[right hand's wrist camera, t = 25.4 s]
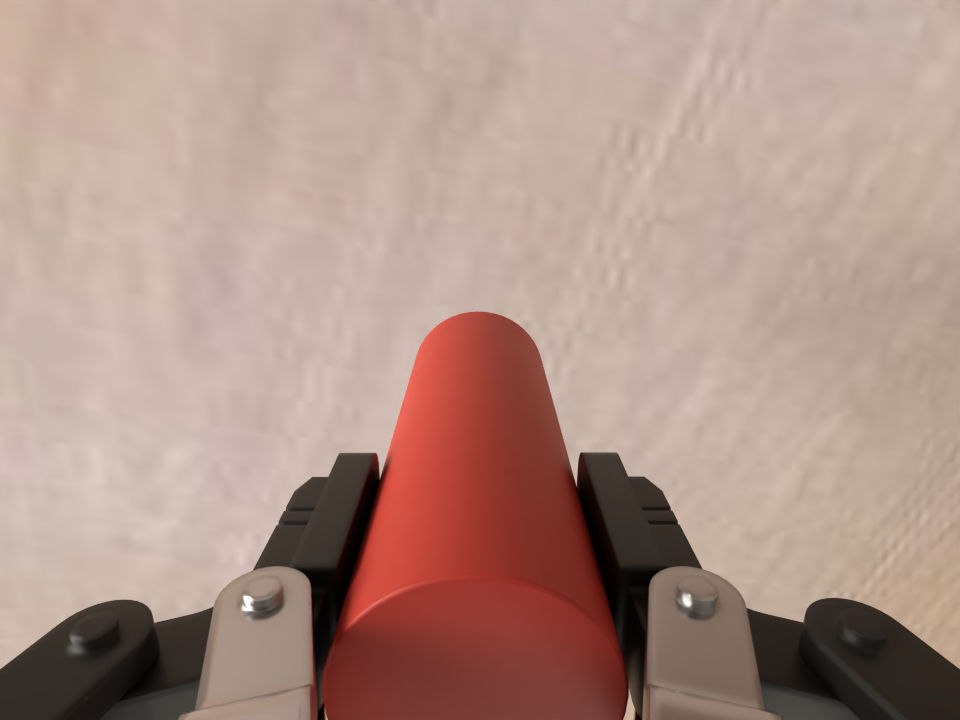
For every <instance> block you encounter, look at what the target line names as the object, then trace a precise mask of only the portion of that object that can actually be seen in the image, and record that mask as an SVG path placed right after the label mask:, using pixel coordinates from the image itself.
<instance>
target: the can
mask: <svg viewBox="0 0 960 720" xmlns="http://www.w3.org/2000/svg"><path fill="white" fill-rule="evenodd" d="M322 693H323V702H324V707H325V711H326V715H327V718H328V720H623V718H624V716H625V712H626V707H627V701H628V696H629V680H628V674H627V668H626V664H625V660H624V656H623V653H622V649H621V646H620V642H619V638H618V635H617V631H616V628H615V624H614V620H613V617H612V613H611V610H610V606H609V602H608V599H607V595H606V591H605V588H604V584H603V581H602V577H601V573H600V570H599V566H598V563H597V559H596V555H595V552H594V548H593V545H592V541H591V537H590V534H589V530H588V527H587V523H586V519H585V516H584V512H583V508H582V505H581V501H580V498H579V494H578V490H577V487H576V483H575V480H574V476H573V472H572V469H571V465H570V462H569V458H568V454H567V451H566V447H565V443H564V440H563V436H562V433H561V429H560V425H559V422H558V418H557V415H556V411H555V407H554V404H553V400H552V397H551V393H550V389H549V386H548V382H547V379H546V375H545V371H544V368H543V364H542V360H541V357H540V354H539V351H538V349H537V347H536V345H535V343H534V341H533V340H532V338H531V337H530V335H529V334H528V333H527V332H526V331H525V330H524V329H523V328H522V327H520V326H519V325H518V324H516V323H515V322H513V321H512V320H510V319H508V318H506V317H503V316H501V315H497V314H494V313H488V312H468V313H463V314H459V315H456V316H453V317H451V318H449V319H447V320H445V321H443V322H442V323H440V324H439V325H437V326H436V327H435V328H434V329H433V330H432V331H431V332H430V333H429V334H428V335H427V337H426V338H425V339H424V341H423V342H422V344H421V346H420V348H419V351H418V353H417V357H416V360H415V363H414V367H413V370H412V374H411V377H410V380H409V384H408V387H407V390H406V394H405V397H404V401H403V404H402V407H401V411H400V414H399V417H398V421H397V424H396V427H395V431H394V434H393V438H392V441H391V444H390V448H389V451H388V454H387V458H386V461H385V465H384V468H383V471H382V475H381V478H380V481H379V485H378V488H377V492H376V495H375V498H374V502H373V505H372V508H371V512H370V515H369V519H368V522H367V525H366V529H365V532H364V535H363V539H362V542H361V545H360V549H359V552H358V556H357V559H356V562H355V566H354V569H353V572H352V576H351V579H350V583H349V586H348V589H347V593H346V596H345V599H344V603H343V606H342V610H341V613H340V616H339V620H338V623H337V626H336V630H335V633H334V636H333V640H332V643H331V647H330V650H329V653H328V657H327V660H326V663H325V667H324V672H323V680H322Z"/></svg>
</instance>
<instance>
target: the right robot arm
mask: <svg viewBox="0 0 960 720" xmlns="http://www.w3.org/2000/svg"><path fill="white" fill-rule="evenodd" d="M379 481H380V476H379V462H378V456H377V454H376V453H340V454H339V455H338V457H337V459H336V462H335V464H334V466H333V468H332V470H331V473H330V475H329V477H312V478H311V479H310V480H308V481H307V482H306V483H305V484H303V485H302V486H301V487H300V488H298V489H297V490H296V491H295V492H294V494H293V495H292V497H291V499H290V501H289V503H288V505H287V507H286V511H284V512H283V514H282V516H281V518H280V520H279V525H277V526H276V528H275V530H274V531H273V533H272V535H271V537H270V539H269V541H268V543H267V545H266V547H265V549H264V550H263V552H262V554H261V556H260V558H259V560H258V562H257V564H256V566H255V567H254V569H253V571H251V572H248V573H246V574H244V575H242V576H240V577H238V578H237V579H235V580H234V581H232V582H231V583H229V584H228V585H227V586H226V587H225V588H224V589H223V590H222V591H221V593H220V594H219V595H218V597H217V599H216V601H215V604H214V607H212V608H210V609H207V610H204V611H202V612H198V613H195V614H191V615H187V616H182V617H178V618H174V619H169V620H165V621H161V622H157V623H154V620H153V616H152V613H151V610H150V609H149V608H148V607H147V606H146V605H145V604H143V603H140V602H138V601H133V600H114V601H109V602H104V603H100V604H97V605H94V606H91V607H89V608H86V609H84V610H82V611H80V612H78V613H76V614H74V615H72V616H71V617H69V618H67V619H66V620H64V621H63V622H61V623H60V624H59V625H57V626H56V627H55V628H53V629H52V630H51V631H50V632H48V633H47V634H46V635H44V636H43V637H42V638H40V639H39V640H38V641H37V642H35V643H34V644H33V645H31V646H30V647H29V648H27V649H26V650H25V651H24V652H22V653H21V654H20V655H18V656H17V657H16V658H14V659H13V660H12V661H11V662H9V663H8V664H7V665H5V666H4V667H3V668H1V669H0V720H327V719H326V711H325V707H324V702H323V693H322V680H323V672H324V667H325V663H326V660H327V657H328V653H329V650H330V647H331V643H332V640H333V636H334V633H335V630H336V626H337V623H338V620H339V616H340V613H341V610H342V606H343V603H344V599H345V596H346V593H347V589H348V586H349V583H350V579H351V576H352V572H353V569H354V566H355V562H356V559H357V556H358V552H359V549H360V545H361V542H362V539H363V535H364V532H365V529H366V525H367V522H368V519H369V515H370V512H371V508H372V505H373V502H374V498H375V495H376V492H377V488H378V485H379ZM577 490H578V494H579V498H580V501H581V505H582V508H583V512H584V516H585V519H586V523H587V527H588V530H589V534H590V537H591V541H592V545H593V548H594V552H595V555H596V559H597V563H598V566H599V570H600V573H601V577H602V581H603V584H604V588H605V591H606V595H607V599H608V602H609V606H610V610H611V613H612V617H613V620H614V624H615V628H616V631H617V635H618V638H619V642H620V646H621V649H622V653H623V656H624V660H625V664H626V668H627V674H628V680H629V690H630V694H631V698H632V701H633V705H634V707H635V710H634V719H633V720H960V669H959V668H957V667H956V666H955V665H953V664H952V663H951V662H949V661H948V660H947V659H946V658H944V657H943V656H942V655H940V654H939V653H938V652H936V651H935V650H934V649H933V648H931V647H930V646H929V645H927V644H926V643H925V642H923V641H922V640H921V639H920V638H918V637H917V636H916V635H914V634H913V633H912V632H910V631H909V630H908V629H907V628H905V627H904V626H903V625H901V624H900V623H899V622H897V621H896V620H895V619H893V618H892V617H890V616H889V615H887V614H885V613H883V612H882V611H880V610H878V609H875V608H873V607H871V606H869V605H866V604H863V603H860V602H857V601H853V600H848V599H841V598H826V599H821V600H818V601H815V602H814V603H812V604H811V605H810V606H809V607H808V608H807V611H806V614H805V618H804V622H803V623H802V622H798V621H794V620H790V619H785V618H781V617H777V616H772V615H768V614H764V613H760V612H757V611H753V610H751V609H748V608H746V604H745V601H744V599H743V597H742V595H741V594H740V593H739V591H738V590H737V589H736V588H735V587H734V586H733V585H732V584H731V583H729V582H728V581H726V580H725V579H723V578H722V577H720V576H718V575H716V574H714V573H712V572H709V571H706V570H703V569H702V567H701V565H700V563H699V561H698V559H697V557H696V555H695V554H694V552H693V550H692V548H691V546H690V544H689V542H688V540H687V538H686V536H685V534H684V532H683V530H682V528H681V527H680V525H678V521H677V519H676V517H675V515H674V513H673V511H671V509H670V508H671V507H670V505H669V503H668V502H667V500H666V498H665V496H664V494H663V492H662V490H660V489H659V488H658V487H657V486H655V485H654V484H653V483H652V482H650V481H649V480H648V479H647V478H645V477H628V475H627V473H626V471H625V468H624V466H623V464H622V462H621V459H620V457H619V455H618V454H617V453H580V456H579V462H578V476H577Z"/></svg>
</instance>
